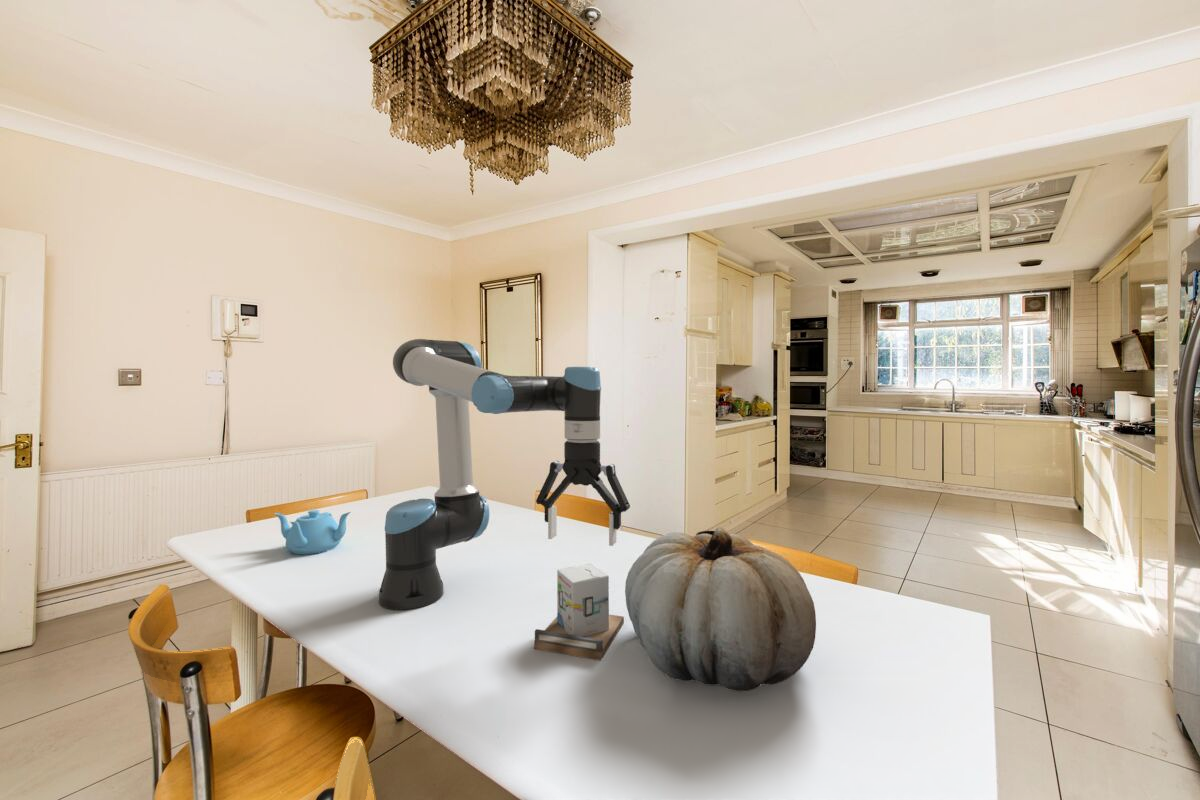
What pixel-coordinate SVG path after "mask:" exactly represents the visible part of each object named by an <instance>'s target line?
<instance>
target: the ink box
mask: <svg viewBox="0 0 1200 800" xmlns="http://www.w3.org/2000/svg"><path fill="white" fill-rule="evenodd" d="M556 573H557V578H556V579H557V580H556V581H557V582H556V583H557V586H556V587H557V588H556V591H557V593H556V594H557V596H556V597H557V603H556V610H557V614H556V617H557V622H558V623H559V624H560V625H561V626H562V627H563V628H564V629H565V631H566V632H567V633H568V634H569V635H575V636H581V637H583V636H587V635H591V634H595V633H599V632H603V631H607V630H609V614H610V604H609V603H610V601H609V599H610V598H609V596H610V595H609V593H610V591H609V589H610V586H609V585H610V584H609V583H610V582H609V581H610V578H609V575H608V573H605V572H604V571H603V570H601V569H600V568H598V567H597V566H595V565H594V564H592V563H587V564H581V565H577V566H576V565H575V566H571V567H565V568H561V569H557V571H556Z"/></svg>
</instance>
